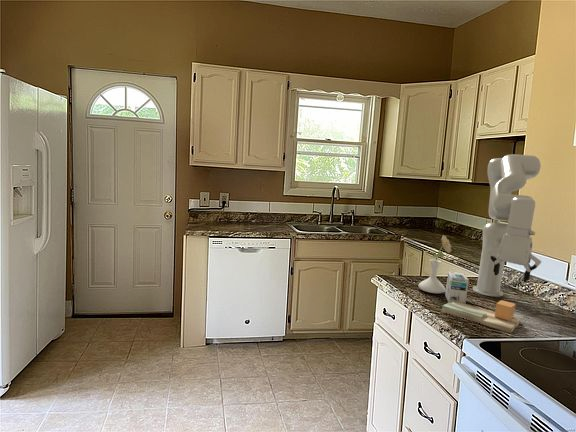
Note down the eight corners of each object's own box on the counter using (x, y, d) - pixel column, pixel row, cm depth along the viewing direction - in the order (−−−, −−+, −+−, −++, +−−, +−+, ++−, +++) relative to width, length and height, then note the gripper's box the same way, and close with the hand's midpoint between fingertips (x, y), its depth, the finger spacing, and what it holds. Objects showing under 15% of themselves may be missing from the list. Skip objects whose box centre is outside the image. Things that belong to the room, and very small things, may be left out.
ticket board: (454, 304, 175) (455, 298, 175) (520, 322, 160) (521, 316, 160) (441, 312, 164) (442, 305, 164) (510, 332, 149) (511, 325, 149)
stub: (498, 312, 164) (500, 300, 163) (513, 316, 161) (515, 303, 160) (494, 316, 159) (496, 303, 159) (509, 320, 156) (511, 307, 156)
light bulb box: (465, 305, 175) (469, 279, 174) (448, 303, 176) (451, 277, 175) (460, 297, 185) (464, 272, 184) (444, 295, 187) (447, 270, 185)
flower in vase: (432, 296, 183) (440, 238, 179) (412, 288, 192) (419, 232, 189) (453, 294, 189) (461, 237, 186) (432, 286, 199) (440, 232, 196)
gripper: (547, 235, 153) (539, 282, 156) (495, 226, 164) (488, 270, 167) (543, 238, 147) (534, 286, 150) (489, 228, 158) (482, 274, 161)
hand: (510, 278), depth 159 cm, fingers open, 9 cm apart
